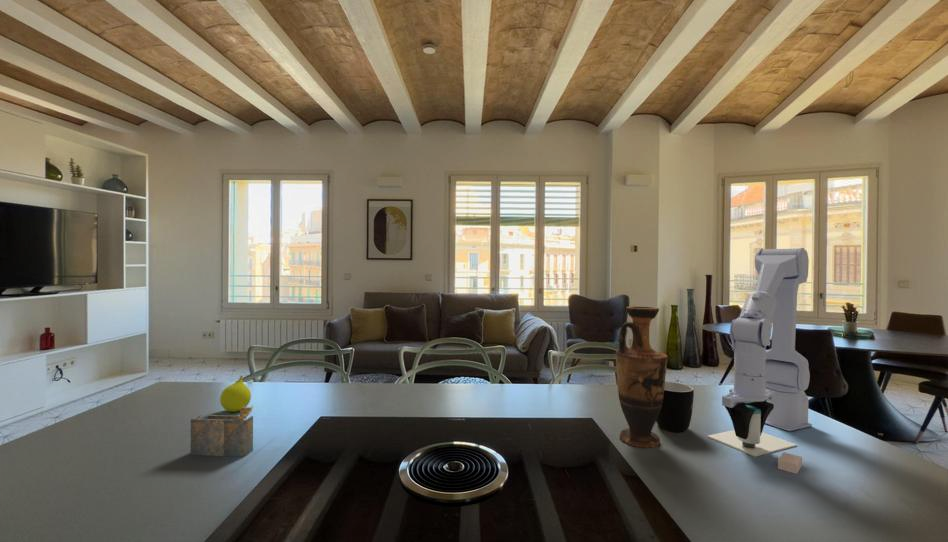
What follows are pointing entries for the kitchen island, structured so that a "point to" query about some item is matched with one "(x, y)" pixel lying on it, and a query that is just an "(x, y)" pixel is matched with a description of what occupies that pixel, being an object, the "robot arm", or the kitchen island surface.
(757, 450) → the paper
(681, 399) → the mug
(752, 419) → the white and green cylinder
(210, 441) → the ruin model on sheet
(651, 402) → the vase
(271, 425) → the kitchen island surface
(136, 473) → the kitchen island surface
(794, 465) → the eraser
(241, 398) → the yellow rounded piece
